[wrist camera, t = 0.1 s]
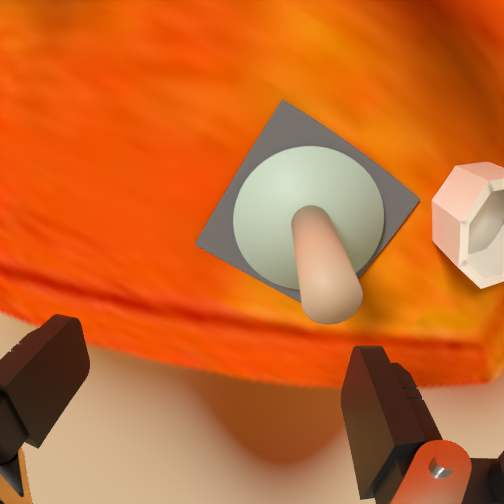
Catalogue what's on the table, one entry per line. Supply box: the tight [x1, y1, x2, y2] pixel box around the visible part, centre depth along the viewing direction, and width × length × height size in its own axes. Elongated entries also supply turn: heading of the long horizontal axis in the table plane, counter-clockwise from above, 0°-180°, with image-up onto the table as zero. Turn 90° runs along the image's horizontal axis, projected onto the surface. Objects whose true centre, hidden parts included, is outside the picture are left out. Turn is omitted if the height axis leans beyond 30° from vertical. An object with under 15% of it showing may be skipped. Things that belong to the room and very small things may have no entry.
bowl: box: [432, 161, 504, 289], centre depth 26 cm, size 11×11×6 cm
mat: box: [195, 100, 420, 303], centre depth 30 cm, size 16×16×1 cm
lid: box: [233, 146, 384, 324], centre depth 24 cm, size 14×14×13 cm
